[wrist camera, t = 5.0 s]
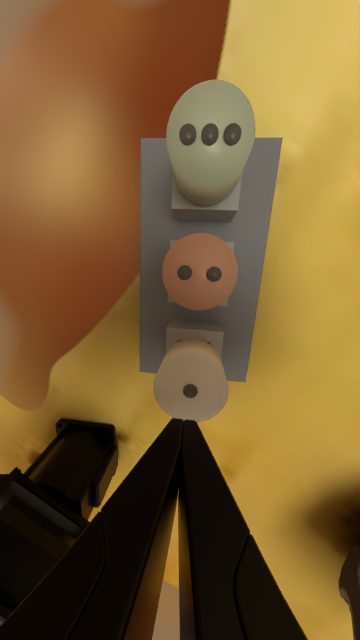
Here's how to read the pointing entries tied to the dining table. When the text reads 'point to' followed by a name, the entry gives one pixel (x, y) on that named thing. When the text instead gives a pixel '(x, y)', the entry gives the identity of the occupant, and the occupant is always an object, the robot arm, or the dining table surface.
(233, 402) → the dining table surface
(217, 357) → the cream key
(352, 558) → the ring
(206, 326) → the grey button panel
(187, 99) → the sage key
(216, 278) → the terracotta key
